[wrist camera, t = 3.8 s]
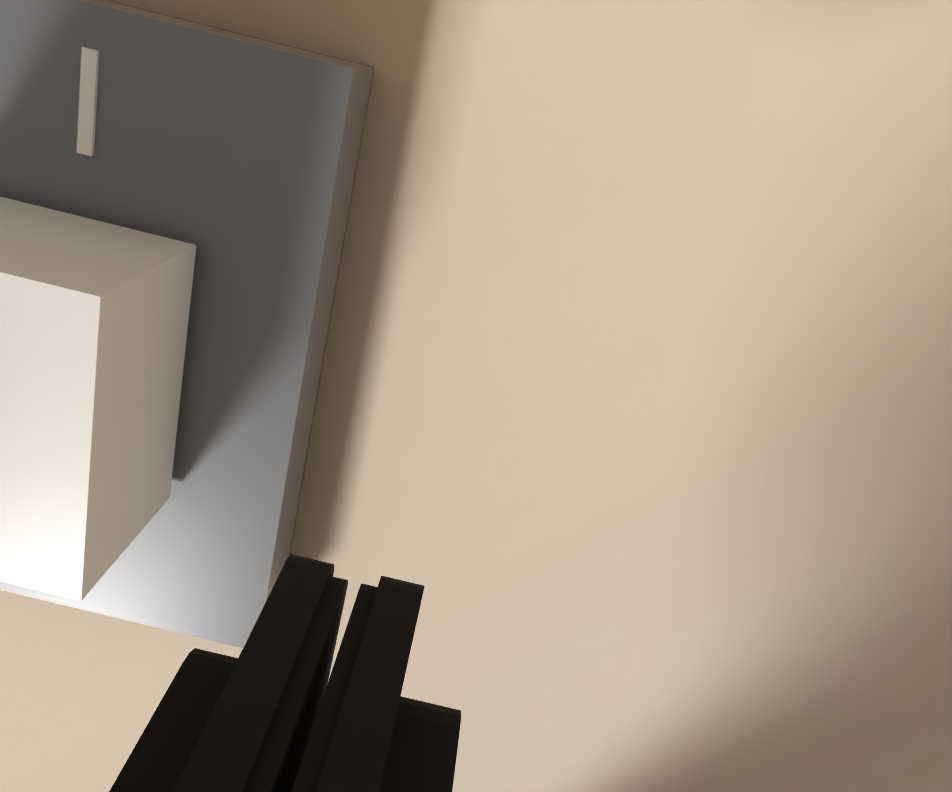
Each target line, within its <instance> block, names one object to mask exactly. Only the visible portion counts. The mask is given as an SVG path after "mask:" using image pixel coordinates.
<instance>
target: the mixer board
mask: <svg viewBox="0 0 952 792" xmlns="http://www.w3.org/2000/svg"><path fill="white" fill-rule="evenodd" d="M373 68H374V67H370V66H366V65H362V64H358V63H354V62H350V61H346V60H342V59H338V58H334V57H330V56H326V55H322V54H318V53H314V52H310V51H306V50H302V49H298V48H294V47H290V46H286V45H282V44H278V43H274V42H270V41H266V40H262V39H258V38H254V37H250V36H246V35H242V34H238V33H234V32H230V31H226V30H222V29H218V28H214V27H210V26H206V25H202V24H198V23H194V22H190V21H186V20H182V19H178V18H174V17H170V16H166V15H162V14H158V13H154V12H150V11H146V10H142V9H138V8H134V7H130V6H126V5H122V4H118V3H114V2H110V1H106V0H0V197H4V198H8V199H12V200H16V201H20V202H25V203H29V204H33V205H37V206H41V207H45V208H49V209H53V210H57V211H61V212H65V213H69V214H73V215H77V216H81V217H85V218H89V219H93V220H97V221H101V222H105V223H109V224H114V225H118V226H122V227H126V228H130V229H134V230H138V231H142V232H146V233H150V234H154V235H158V236H162V237H166V238H170V239H174V240H178V241H182V242H186V243H190V244H194V245H196V254H195V263H194V272H193V282H192V291H191V301H190V310H189V320H188V329H187V339H186V348H185V358H184V367H183V376H182V386H181V395H180V405H179V414H178V424H177V433H176V443H175V452H174V462H173V471H172V480H171V490H170V498H169V499H168V500H167V501H166V503H165V504H164V505H163V506H162V507H161V508H160V510H159V511H158V512H157V513H156V514H155V515H154V517H153V518H152V519H151V520H150V521H149V522H148V524H147V525H146V526H145V527H144V528H143V529H142V531H141V532H140V533H139V534H138V535H137V536H136V538H135V539H134V540H133V541H132V542H131V543H130V545H129V546H128V547H127V548H126V549H125V550H124V552H123V553H122V554H121V555H120V556H119V558H118V559H117V560H116V561H115V562H114V563H113V565H112V566H111V567H110V568H109V569H108V570H107V572H106V573H105V574H104V575H103V576H102V577H101V579H100V580H99V581H98V582H97V583H96V584H95V586H94V587H93V588H92V589H91V590H90V591H89V593H88V594H87V595H86V596H85V597H84V598H83V600H82V601H79V600H75V599H71V598H66V597H62V596H58V595H54V594H50V593H46V592H41V591H37V590H33V589H29V588H25V587H21V586H17V585H12V584H8V583H4V582H0V590H3V591H8V592H12V593H16V594H20V595H24V596H28V597H32V598H37V599H41V600H45V601H49V602H53V603H57V604H62V605H66V606H70V607H74V608H78V609H82V610H86V611H91V612H95V613H99V614H103V615H107V616H111V617H115V618H120V619H124V620H128V621H132V622H136V623H140V624H145V625H149V626H153V627H157V628H161V629H165V630H169V631H174V632H178V633H182V634H186V635H190V636H194V637H199V638H203V639H207V640H211V641H215V642H219V643H223V644H228V645H232V646H236V647H240V648H244V646H245V644H246V642H247V640H248V637H249V635H250V633H251V631H252V629H253V627H254V625H255V623H256V621H257V619H258V617H259V615H260V613H261V611H262V609H263V607H264V605H265V603H266V601H267V599H268V596H269V594H270V592H271V590H272V588H273V586H274V584H275V582H276V580H277V578H278V576H279V574H280V572H281V570H282V568H283V566H284V564H285V562H286V560H287V558H288V556H289V554H290V548H291V542H292V536H293V530H294V525H295V519H296V513H297V507H298V502H299V496H300V490H301V484H302V478H303V473H304V467H305V461H306V455H307V450H308V444H309V438H310V432H311V426H312V421H313V415H314V409H315V403H316V398H317V392H318V386H319V380H320V374H321V369H322V363H323V357H324V351H325V346H326V340H327V334H328V328H329V322H330V317H331V311H332V305H333V299H334V294H335V288H336V282H337V276H338V270H339V265H340V259H341V253H342V247H343V242H344V236H345V230H346V224H347V218H348V213H349V207H350V201H351V195H352V190H353V184H354V178H355V172H356V166H357V161H358V155H359V149H360V143H361V138H362V132H363V126H364V120H365V114H366V109H367V103H368V97H369V91H370V86H371V80H372V74H373Z"/></svg>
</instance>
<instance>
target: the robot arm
mask: <svg viewBox="0 0 952 792" xmlns="http://www.w3.org/2000/svg"><path fill="white" fill-rule="evenodd" d="M333 573H334V564H330V563H326V562H321V561H317V560H313V559H309V558H305V557H300V556H296V555H292V554H290V555H289V556H288V558H287V560H286V562H285V564H284V566H283V568H282V570H281V572H280V574H279V576H278V578H277V580H276V582H275V584H274V586H273V588H272V590H271V592H270V594H269V596H268V599H267V601H266V603H265V605H264V607H263V609H262V611H261V613H260V615H259V617H258V619H257V621H256V623H255V625H254V627H253V629H252V631H251V633H250V635H249V637H248V640H247V642H246V644H245V646H244V648H243V650H242V652H241V654H240V656H239V658H234V657H230V656H226V655H221V654H217V653H213V652H209V651H204V650H200V649H196V648H195V649H193V650H192V651H191V652H190V653H189V654H188V656H187V657H186V659H185V660H184V662H183V663H182V665H181V667H180V669H179V670H178V672H177V674H176V676H175V677H174V679H173V681H172V683H171V685H170V686H169V688H168V690H167V692H166V693H165V695H164V697H163V699H162V700H161V702H160V704H159V706H158V707H157V709H156V711H155V713H154V714H153V716H152V718H151V720H150V721H149V723H148V725H147V727H146V728H145V730H144V732H143V734H142V735H141V737H140V739H139V741H138V742H137V744H136V746H135V748H134V749H133V751H132V753H131V755H130V756H129V758H128V760H127V762H126V763H125V765H124V767H123V769H122V770H121V772H120V774H119V776H118V777H117V779H116V781H115V783H114V784H113V786H112V788H111V790H110V791H109V792H452V787H453V779H454V771H455V763H456V755H457V747H458V739H459V731H460V722H461V711H460V710H456V709H452V708H448V707H443V706H439V705H435V704H430V703H426V702H422V701H418V700H413V699H409V698H405V697H401V696H400V695H401V691H402V686H403V682H404V677H405V672H406V668H407V663H408V659H409V654H410V650H411V645H412V641H413V636H414V631H415V627H416V622H417V618H418V613H419V609H420V604H421V599H422V595H423V590H424V586H423V585H418V584H414V583H410V582H406V581H402V580H397V579H393V578H389V577H385V576H381V579H380V582H379V585H378V587H374V586H370V585H366V584H361V586H360V589H359V592H358V595H357V598H356V601H355V604H354V607H353V610H352V613H351V616H350V619H349V622H348V625H347V628H346V631H345V634H344V637H343V640H342V643H341V646H340V649H339V652H338V655H337V658H336V661H335V664H334V667H333V670H332V673H331V676H330V679H329V674H330V669H331V664H332V659H333V654H334V649H335V644H336V640H337V635H338V630H339V625H340V620H341V615H342V610H343V605H344V600H345V595H346V591H347V585H348V580H345V579H340V578H336V577H333ZM328 679H329V682H328ZM327 684H328V685H327Z"/></svg>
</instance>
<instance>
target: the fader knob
mask: <svg viewBox="0 0 952 792" xmlns="http://www.w3.org/2000/svg"><path fill="white" fill-rule="evenodd" d="M195 254H196V245H194V244H190V243H186V242H182V241H178V240H174V239H170V238H166V237H162V236H158V235H154V234H150V233H146V232H142V231H138V230H134V229H130V228H126V227H122V226H118V225H114V224H109V223H105V222H101V221H97V220H93V219H89V218H85V217H81V216H77V215H73V214H69V213H65V212H61V211H57V210H53V209H49V208H45V207H41V206H37V205H33V204H29V203H25V202H20V201H16V200H12V199H8V198H4V197H0V582H4V583H8V584H12V585H17V586H21V587H25V588H29V589H33V590H37V591H41V592H46V593H50V594H54V595H58V596H62V597H66V598H71V599H75V600H79V601H82V600H83V598H84V597H85V596H86V595H87V594H88V593H89V591H90V590H91V589H92V588H93V587H94V586H95V584H96V583H97V582H98V581H99V580H100V579H101V577H102V576H103V575H104V574H105V573H106V572H107V570H108V569H109V568H110V567H111V566H112V565H113V563H114V562H115V561H116V560H117V559H118V558H119V556H120V555H121V554H122V553H123V552H124V550H125V549H126V548H127V547H128V546H129V545H130V543H131V542H132V541H133V540H134V539H135V538H136V536H137V535H138V534H139V533H140V532H141V531H142V529H143V528H144V527H145V526H146V525H147V524H148V522H149V521H150V520H151V519H152V518H153V517H154V515H155V514H156V513H157V512H158V511H159V510H160V508H161V507H162V506H163V505H164V504H165V503H166V501H167V500H168V499H169V498H170V490H171V480H172V471H173V462H174V452H175V443H176V433H177V424H178V414H179V405H180V395H181V386H182V376H183V367H184V358H185V348H186V339H187V329H188V320H189V310H190V301H191V291H192V282H193V272H194V263H195Z"/></svg>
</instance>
